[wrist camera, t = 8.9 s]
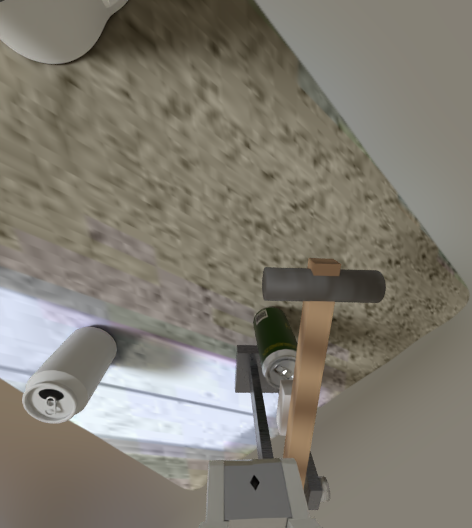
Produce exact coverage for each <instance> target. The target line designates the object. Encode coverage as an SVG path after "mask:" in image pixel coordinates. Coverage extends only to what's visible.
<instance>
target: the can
mask: <svg viewBox="0 0 472 528" xmlns="http://www.w3.org/2000/svg"><path fill="white" fill-rule="evenodd" d="M116 352H117V347H116V343H115V341H114V339H113V337H112V336H110V335H109V334H108V333H107V332H105V331H104V330H102V329H99V328H95V327H83V328H80V329H77V330H76V331H75V332H73V333H72V334H71V335H70V336H69V337H68V338H67V339H66V340H65V341H64V342H63V343H62V345H61V346H60V347H59V348H58V349H57V350H56V351H55V352H54V353H53V354H52V355H51V356H50V357H49V358H48V359H47V360H46V361H45V363H44V364H43V365H42V366H41V367H40V368H39V369H38V370H37V371H36V372H35V373H34V374H33V375H32V376H31V377H30V378H29V380H28V382H27V384H26V390H25V393H24V394H23V399H22V402H23V405H24V408H25V409H26V411H27V412H28V413H29V414H30V415H31V416H32V417H34V418H36V419H37V420H40V421H42V422H47V423H61V422H65V421H68V420H69V419H71V418H72V417H73V416H74V415H75V414H77V413H79V412H80V411H82V410H83V409H84V407H85V406H86V405H87V403H88V401H89V400H90V398H91V396H92V395H93V393H94V391H95V389H96V388H97V386H98V384H99V383H100V381H101V379H102V378H103V376H104V374H105V373H106V371H107V369H108V368H109V366H110V364H111V363H112V361H113V359H114V357H115V356H116Z"/></svg>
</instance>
